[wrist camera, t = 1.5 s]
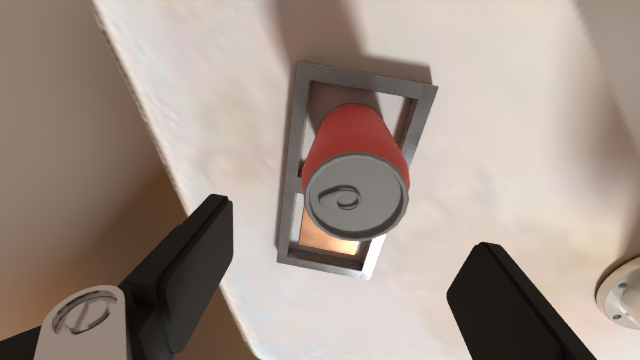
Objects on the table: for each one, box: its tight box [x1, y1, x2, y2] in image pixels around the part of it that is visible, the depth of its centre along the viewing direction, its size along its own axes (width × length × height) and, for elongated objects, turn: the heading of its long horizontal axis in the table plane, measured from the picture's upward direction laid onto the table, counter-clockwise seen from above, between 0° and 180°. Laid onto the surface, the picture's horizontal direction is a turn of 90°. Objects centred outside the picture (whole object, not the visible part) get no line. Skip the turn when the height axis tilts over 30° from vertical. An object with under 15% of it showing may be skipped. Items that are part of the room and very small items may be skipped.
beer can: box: [302, 103, 410, 242], centre depth 18 cm, size 7×7×12 cm
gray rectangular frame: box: [277, 61, 438, 280], centre depth 25 cm, size 12×23×2 cm, turn 171°
